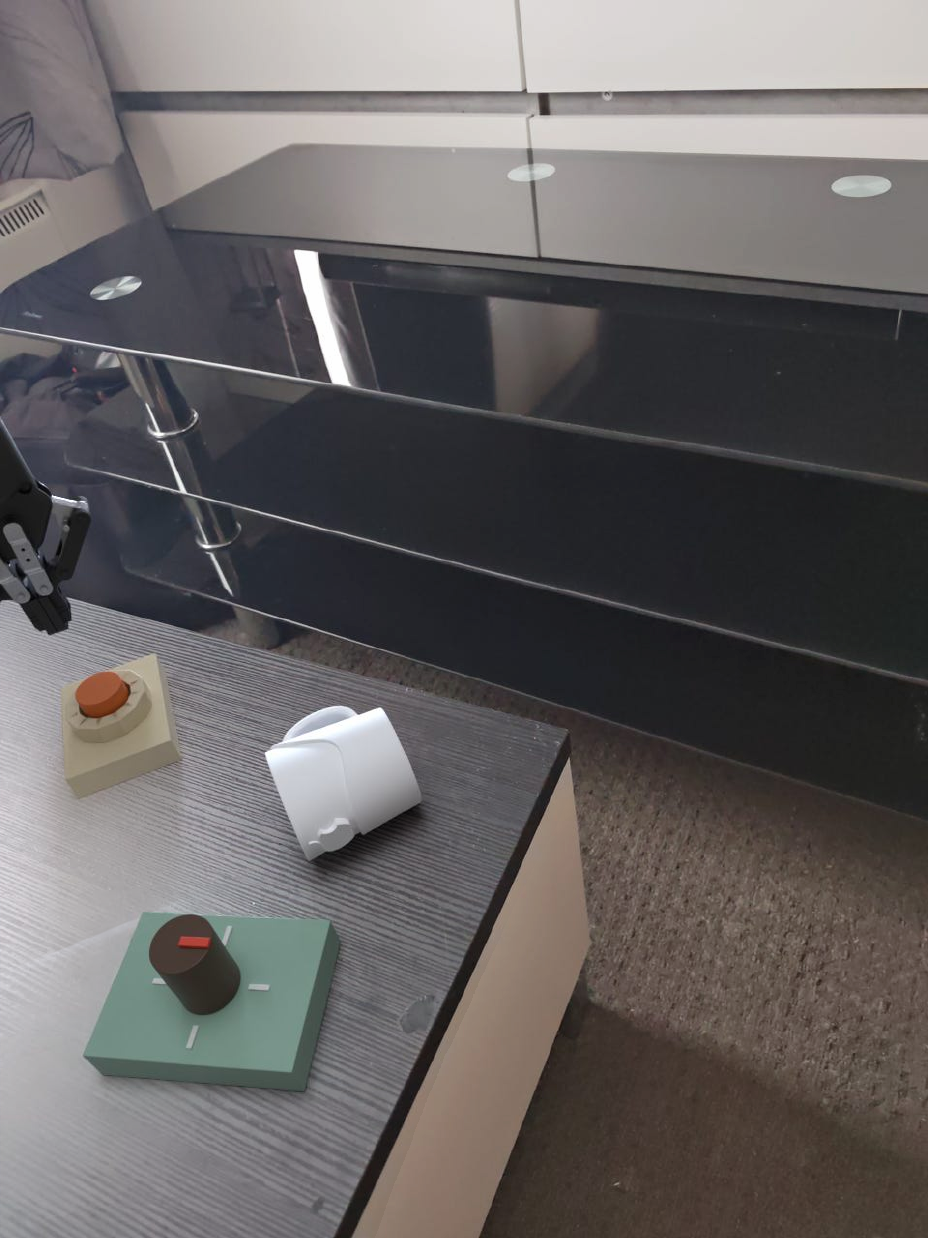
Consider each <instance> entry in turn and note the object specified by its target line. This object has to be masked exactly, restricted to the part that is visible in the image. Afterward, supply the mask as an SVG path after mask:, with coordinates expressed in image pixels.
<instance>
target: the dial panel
mask: <svg viewBox="0 0 928 1238" xmlns="http://www.w3.org/2000/svg"><path fill="white" fill-rule="evenodd" d="M184 914H185V913H179V912H157V911H155V912H154V911H143V912H142V913H141V915H140V918H139V921H138V923H137V925H136V927H135V930H134V932H133V934H132V936H131V937H132V938H131V940H130V942H129V944H128V946H127V949H126V952H125V954H124V956H123V959H122V961H121V964H120V966H119V969H118V971H117V973H116V975H115V978H114V980H113V983H112V985H111V987H110V990H109V992H108V994H107V996H106V999H105V1001H104V1004H103V1006H102V1009H101V1011H100V1014H99V1016H98V1018H97V1021H96V1023H95V1025H94V1027H93V1030H92V1033H91V1035H90V1037H89V1040H88V1042H87V1045H86V1047H85V1049H84V1052H83V1054H82V1057H83V1058H84V1059H85V1060H86V1061H87V1062H88V1063H89V1064H90V1065H91V1066H93V1068H95V1070H97V1072H98V1073H100V1074H101V1075H102V1076H114V1077H115V1076H116V1077H125V1078H139V1079H147V1080H149V1079H151V1080H161V1081H162V1080H163V1081H173V1082H186V1083H196V1084H198V1083H199V1084H207V1085H208V1084H211V1085H223V1086H233V1087H235V1086H236V1087H243V1088H245V1087H246V1088H258V1089H269V1090H270V1089H271V1090H281V1091H292V1092H305V1091H306V1088H307V1083H308V1080H309V1076H310V1071H311V1067H312V1064H313V1063H312V1062H313V1058H314V1056H315V1050H316V1047H317V1042H318V1039H319V1034H320V1030H321V1026H322V1021H323V1018H324V1013H325V1009H326V1006H327V1001H328V996H329V992H330V989H331V985H332V981H333V976H334V972H335V967H336V964H337V959H338V955H339V951H340V947H341V943H342V941H341V939H340V937H339V935H338V933H337V931H336V928H335V926H334V924H333V923H332V921H331V919H320V918H319V919H318V918H316V919H315V918H293V917H289V918H288V917H271V916H247V915H224V914H204V913H203V914H201V913H196V914H197V915H200V916H202V917H204V918H205V919H207V920H208V922H209V923H210V924H211V926H212V927H213V929H214V930H215V932H216V933H217V935H218V936H219V938H220V940H221V941H222V943H223V944H224V946H225V947H226V949H227V950H228V952H229V953H230V955H231V956H232V958H233V959H234V961H235V962H236V964H237V965H238V967H239V970H240V984H239V987H238V990H237V992H236V994H235V995H234V997H233V998H232V1000H231V1001H230V1002H229V1003H228V1004H227V1005H226V1006H224V1007H223V1008H222V1009H220V1010H218V1011H216V1012H214V1013H211V1014H206V1015H198V1014H194V1013H191V1012H190V1011H188V1010H187V1009H186V1008H185V1007H184V1006H183V1004H182V1003H181V1002H180V1001H179V999H178V998H177V997H176V996H175V994H174V993H173V992H172V990H171V989H170V988H169V987H168V985H167V984H166V983H165V982H164V980H163V979H162V978H161V977H160V975H159V974H158V973H157V971H156V970H155V969H154V968H153V966H152V965H151V963H150V959H149V948H150V944H151V941H152V939H153V937H154V935H155V934H156V933H157V931H158V930H159V929H160V928H161V927H162V926H163V925H164V924H165V923H166V922H168V921H169V920H171V919H173V918H175V917H177V916H180V915H184Z"/></svg>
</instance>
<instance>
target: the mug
mask: <svg viewBox="0 0 928 1238" xmlns="http://www.w3.org/2000/svg"><path fill="white" fill-rule="evenodd" d="M264 757H265V760H266V763H267V766H268V769H269V771H270V774H271V778H272V779H273V780H272V781H273V783H274V785H275V788H276V790H277V792H278V795H279V797H280V800H281V802H282V805H283V807H284V811H285V812H286V814H287V817H288V819H289V822H290V825H291V827H292V829H293V831H294V834H295V836H296V838H297V841H298V843H299V845H300V847H301V850H302V852H303V853H304V856H305V858H306V860H307V861H308V862H309V861H312V860H314V859H315V858H317V857H319V856H320V855H322V854H324V853H326V852H336V851H337V850H340V849H342V848H343V847H345V846H347V844H349V842H351V841H352V840H353V838H354V837H355V835H357V834H359V833H360V834H362V835H366V834H367V833H369V832H371V831H373V830H374V829H377V828H378V827H380V826H381V825H384V824H385V823H387V822H388V821H390V820H392V819H393V818H395V817H397V816H399V815H401V814H402V813H404V812H407V811H409V809H411V808H413V807H416V806H417V805H418V804H420V803H421V802H422V793H421V790H420V787H419V784H418V781H417V778H416V775H415V772H414V771H413V768H412V765H411V763H410V761H409V758H408V756H407V753H406V752H405V749H404V747H403V745H402V742H401V741H400V738H399V736H398V734H397V733H396V730H395V728H394V726H393V724H392V722H391V720H390V719H389V717H388V715H387V713H386V712H385V710H384V709H383V708H382V707H376V708H374V709H371V710H369V711H366V712H363V713H360V714H358V713H357V712H356V711H355V710H353V709H352V708H350V707H348V706H343V705H333V706H329V707H324V708H322V709H320V710H319V709H318V710H317V711H315V712H312V713H310V714H309V715H307V716H305V717H303V718H301V719H300V720H299V721H298V722H296V723H295V724H294V725H293V726H292V727H291V728H290V729H289V730H288V731H287V732H286V733H285V735H284V737H283V738H282V741H281V742H278V743H275V744H272V745H271V746H270V747H269V750H267V751H265V752H264Z"/></svg>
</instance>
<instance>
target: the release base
mask: <svg viewBox="0 0 928 1238" xmlns="http://www.w3.org/2000/svg"><path fill="white" fill-rule="evenodd" d="M105 671H110V672H115V673H117V674H118V675H119V676H120V677H121V679H122V681H123V683H124V684H125V686H126V688H127V689H128V692H129V696H128V700H127V702H126V703H125V705H123V706H122V707H121V708H120V709H118V710H117V711H116V712H115V713H113V714H110V715H107V716H105V717H102V718H90V717H88V716H87V715H86V714H85V713H84V712H83V710H82V708H81V707H80V705H79V704H78V702H77V701H76V698H75V693H76V690H77V688H78V687H79V685H80V684H81V683H82V682H83V681H84V680H86V679H87V678H88V677H89V676H88V677H84V678H82V679H80V680H76V681H74V682H70V683H68V684H66V685H62V686H60V689H59V690H60V708H61V725H62V726H61V727H62V746H63V764H64V765H63V767H64V768H63V769H64V781H65V782H66V783H67V785H68V786H69V788H70V789H71V790H72V792H73V793H74V794H75V796H76V798H77V799H82V798H85V797H88V796H90V795H93V794H96V793H98V792H101V791H103V790H106V789H108V788H111V787H113V786H116V785H120V784H122V783H124V782H127V781H129V780H131V779H134V778H137V777H140V776H142V775H143V776H144V775H145V774H148V773H150V772H153V771H156V770H158V769H161V768H163V767H166V766H169V765H171V764H174V763H176V762H180V761H182V759H183V758H182V753H181V747H180V741H179V737H178V730H177V725H176V720H175V719H176V718H175V715H174V710H173V703H172V698H171V693H170V687H169V682H168V676H167V673H166V670H165V667H164V666H163V663H161V661H160V659H159V657H158V655H157V653H151V654H149V655H146V656H143V657H140V658H137V659H135V660H131V661H130V662H126V663H124V664H120V665H118V666H116V667H112V668H110V669H107V670H105ZM105 671H103V672H105Z"/></svg>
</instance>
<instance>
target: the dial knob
mask: <svg viewBox="0 0 928 1238" xmlns="http://www.w3.org/2000/svg"><path fill="white" fill-rule="evenodd" d="M183 914H184V915H180V916H177V917H175V918H173V919H171V920H169V921H168V922H166V923H165V924H164V925H163V926H162V927H161V928H160V929H159V930H158V931H157V933H156V934H155V935H154V937H153V939H152V941H151V944H150V948H149V959H150V963H151V965H152V966H153V968H154V969H155V970H156V971H157V973H158V974H159V975H160V977H161V978H162V979H163V980H164V982H165V983H166V984H167V985H168V987H169V988H170V989H171V990H172V992H173V993H174V994H175V996H176V997H177V998H178V999H179V1001H180V1002H181V1003H182V1004H183V1006H184V1007H185V1008H186V1009H187V1010H188V1011H190V1012H191V1013H194V1014H198V1015H206V1014H211V1013H214V1012H216V1011H218V1010H220V1009H222V1008H223V1007H224V1006H226V1005H227V1004H228V1003H229V1002H230V1001H231V1000H232V998H233V997H234V995H235V994H236V992H237V990H238V987H239V984H240V970H239V967H238V965H237V964H236V962H235V961H234V959H233V958H232V956H231V955H230V953H229V952H228V950H227V949H226V947H225V946H224V944H223V943H222V941H221V940H220V938H219V936H218V935H217V933H216V932H215V930H214V929H213V927H212V926H211V924H210V923H209V922H208V920H207V919H205V918H204V917H202V916H200V915H197V914H198V913H183Z"/></svg>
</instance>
